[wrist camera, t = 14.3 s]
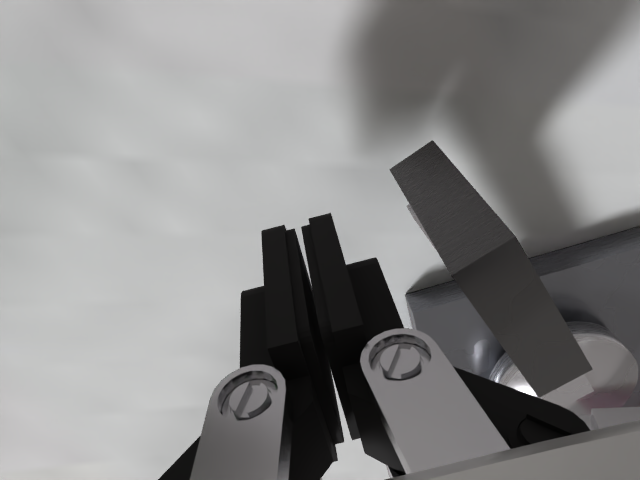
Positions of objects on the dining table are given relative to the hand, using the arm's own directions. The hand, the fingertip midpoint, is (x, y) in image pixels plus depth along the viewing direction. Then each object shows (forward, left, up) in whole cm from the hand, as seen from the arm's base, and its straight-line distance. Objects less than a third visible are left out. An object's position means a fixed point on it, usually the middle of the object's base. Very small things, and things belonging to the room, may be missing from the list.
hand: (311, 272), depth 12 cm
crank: (-5, +5, -2) cm, 8 cm away
